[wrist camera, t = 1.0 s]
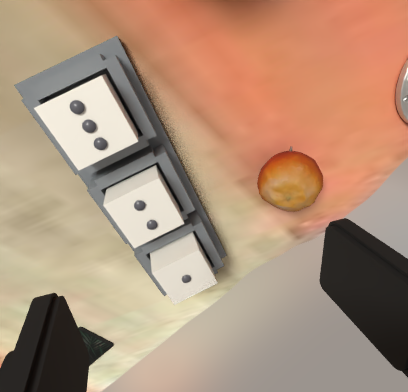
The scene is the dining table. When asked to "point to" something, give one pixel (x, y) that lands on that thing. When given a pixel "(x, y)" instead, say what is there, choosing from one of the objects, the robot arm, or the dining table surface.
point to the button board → (130, 156)
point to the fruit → (290, 181)
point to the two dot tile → (143, 206)
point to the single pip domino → (182, 268)
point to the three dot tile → (89, 122)
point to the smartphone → (94, 344)
